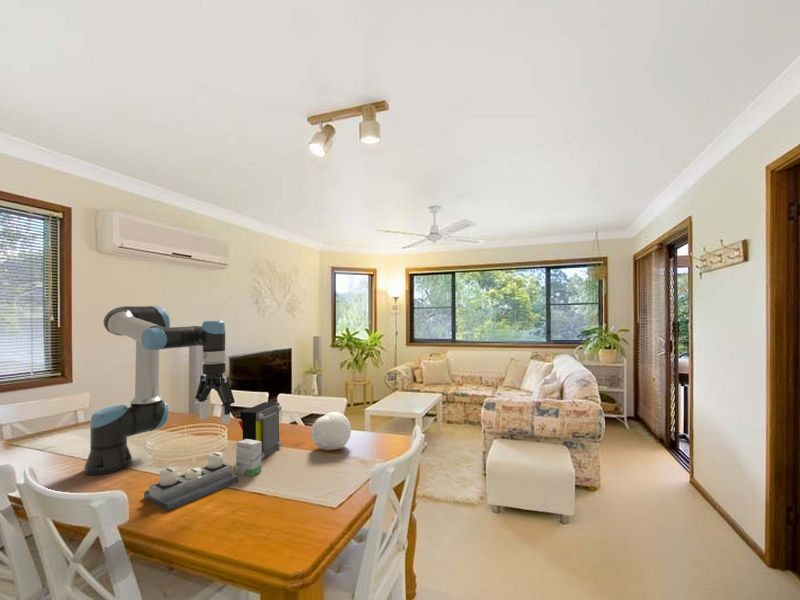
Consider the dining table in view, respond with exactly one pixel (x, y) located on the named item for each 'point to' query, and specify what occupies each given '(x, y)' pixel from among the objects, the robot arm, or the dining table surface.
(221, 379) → the robot arm
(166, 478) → the knob near
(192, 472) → the knob mid
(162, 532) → the dining table surface
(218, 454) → the knob far
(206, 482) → the mount
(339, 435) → the decorative orb
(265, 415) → the electrical component
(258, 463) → the ink box
